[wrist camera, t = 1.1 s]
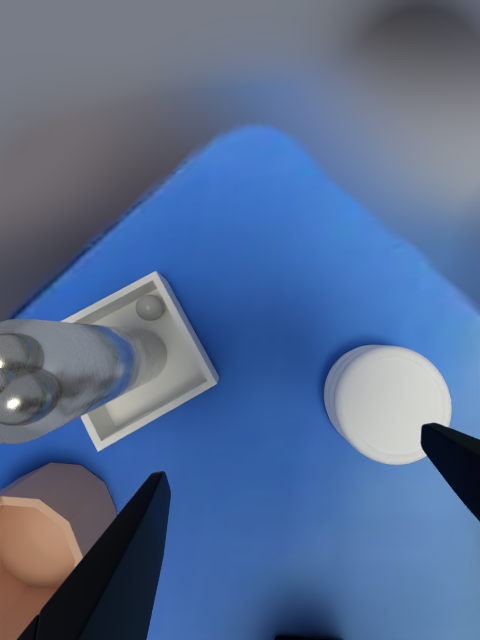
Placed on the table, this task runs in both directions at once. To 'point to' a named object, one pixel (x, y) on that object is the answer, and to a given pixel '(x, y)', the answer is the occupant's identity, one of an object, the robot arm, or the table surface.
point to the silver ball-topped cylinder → (68, 372)
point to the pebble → (149, 307)
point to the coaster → (386, 401)
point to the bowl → (46, 536)
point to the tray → (177, 376)
